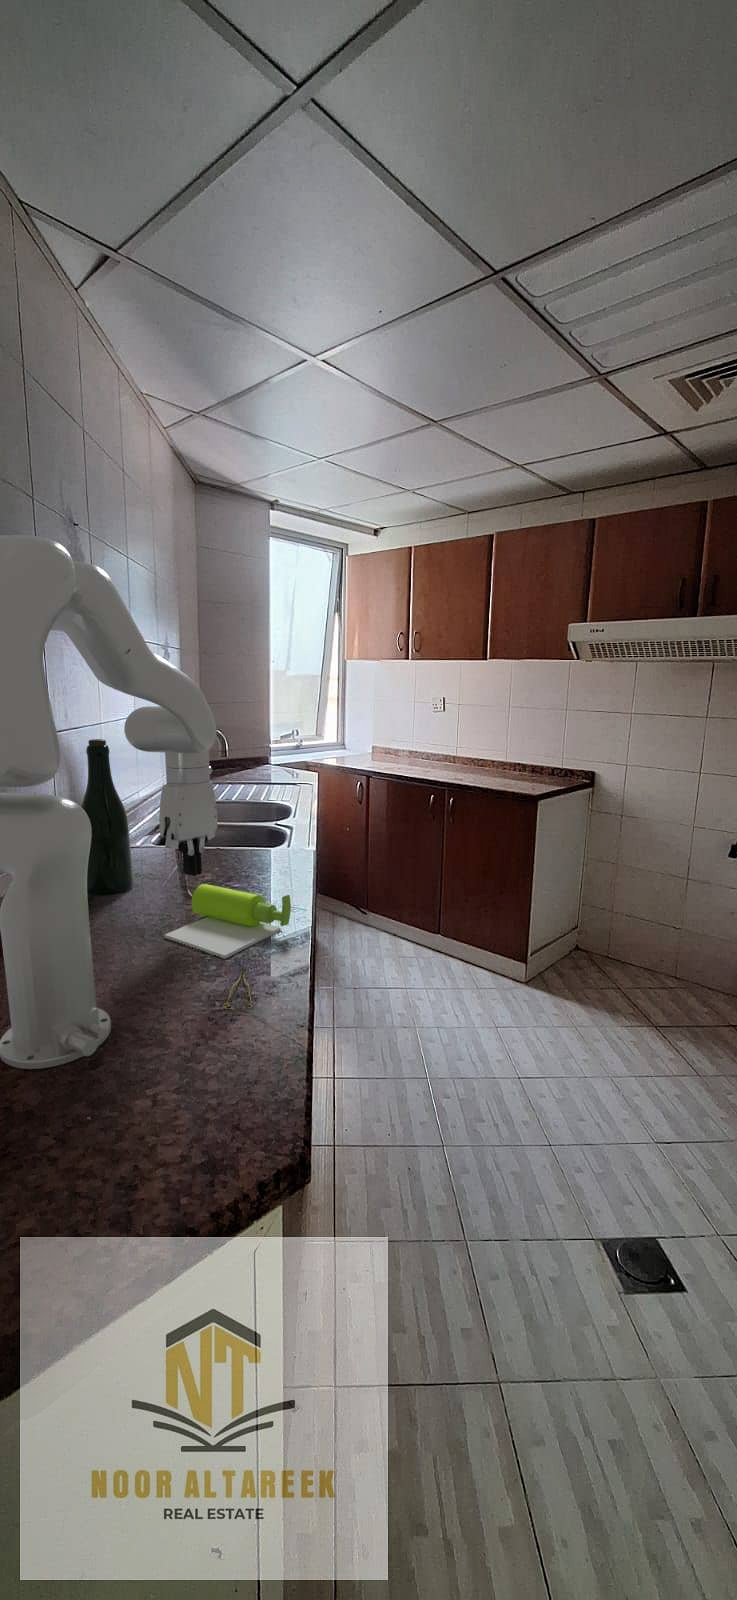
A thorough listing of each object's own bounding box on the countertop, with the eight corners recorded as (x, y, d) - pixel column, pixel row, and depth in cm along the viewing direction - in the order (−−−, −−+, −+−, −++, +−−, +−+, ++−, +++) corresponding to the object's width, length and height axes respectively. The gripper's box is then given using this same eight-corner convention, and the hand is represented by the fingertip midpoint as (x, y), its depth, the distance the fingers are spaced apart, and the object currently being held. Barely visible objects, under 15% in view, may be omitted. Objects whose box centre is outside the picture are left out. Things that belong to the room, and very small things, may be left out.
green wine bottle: (136, 880, 137) (126, 736, 131) (130, 895, 127) (120, 741, 121) (86, 883, 134) (75, 737, 128) (77, 899, 124) (63, 742, 118)
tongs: (250, 970, 96) (250, 959, 95) (254, 1017, 84) (254, 1004, 83) (224, 973, 95) (223, 961, 94) (224, 1020, 83) (223, 1007, 82)
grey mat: (280, 930, 110) (280, 927, 110) (224, 958, 98) (224, 955, 98) (222, 913, 118) (222, 910, 118) (164, 937, 106) (164, 934, 106)
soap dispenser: (213, 876, 118) (298, 893, 109) (211, 911, 118) (294, 930, 109) (192, 880, 113) (279, 898, 104) (190, 916, 113) (276, 937, 104)
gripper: (205, 769, 115) (209, 860, 118) (139, 779, 102) (145, 880, 106) (233, 772, 111) (236, 867, 114) (168, 783, 98) (173, 888, 102)
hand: (192, 873), depth 110 cm, fingers closed
